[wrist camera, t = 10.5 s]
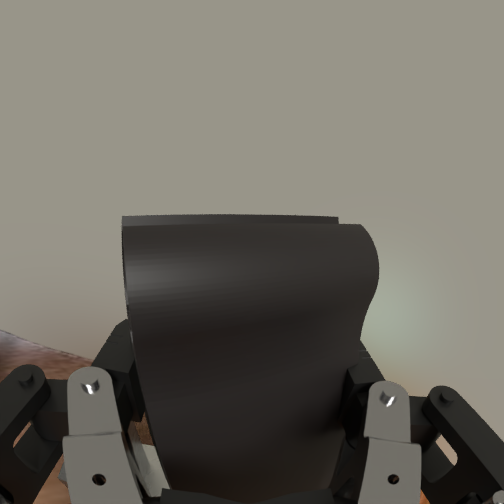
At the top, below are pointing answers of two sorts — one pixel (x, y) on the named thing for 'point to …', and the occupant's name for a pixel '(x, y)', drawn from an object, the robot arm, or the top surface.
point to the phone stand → (246, 345)
